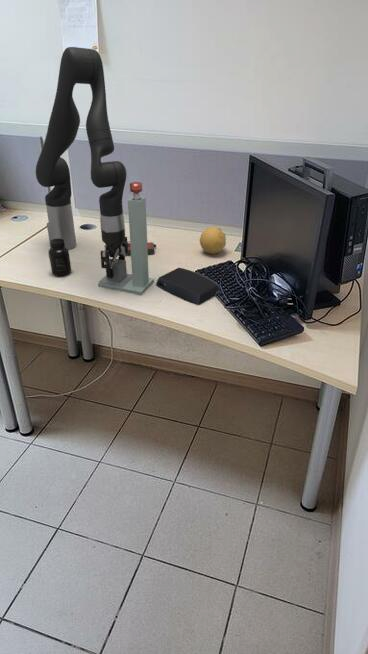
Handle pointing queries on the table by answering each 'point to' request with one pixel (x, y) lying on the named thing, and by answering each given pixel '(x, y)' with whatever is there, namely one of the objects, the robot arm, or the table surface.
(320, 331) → the table surface
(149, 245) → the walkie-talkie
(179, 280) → the external hard drive
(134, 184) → the plunger
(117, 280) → the block
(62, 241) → the supplement bottle
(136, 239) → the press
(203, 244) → the stress ball
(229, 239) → the table surface
